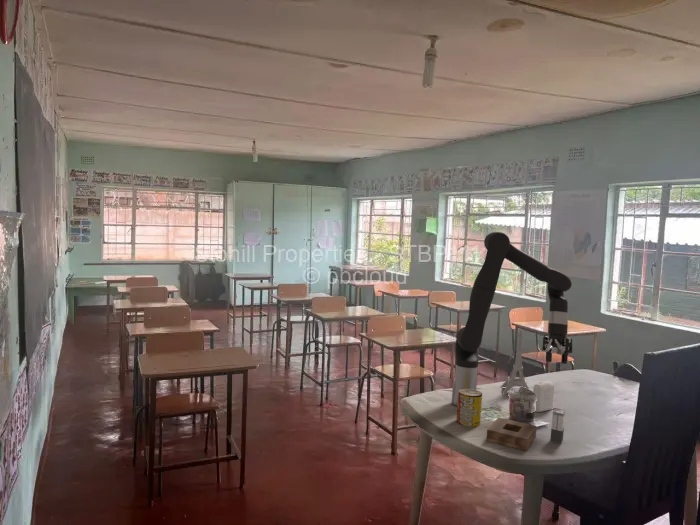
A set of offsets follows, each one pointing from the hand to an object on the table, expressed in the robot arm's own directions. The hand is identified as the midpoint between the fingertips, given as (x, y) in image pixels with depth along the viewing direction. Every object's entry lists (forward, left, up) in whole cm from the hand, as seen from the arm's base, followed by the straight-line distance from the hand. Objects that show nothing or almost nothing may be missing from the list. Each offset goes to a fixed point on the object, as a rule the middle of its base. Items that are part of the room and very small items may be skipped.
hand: (556, 362), depth 216 cm
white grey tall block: (+6, -27, -22) cm, 36 cm away
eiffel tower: (-20, +23, -23) cm, 38 cm away
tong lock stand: (-8, -36, -22) cm, 43 cm away
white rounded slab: (-5, +5, -22) cm, 23 cm away
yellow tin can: (-26, -30, -22) cm, 46 cm away
